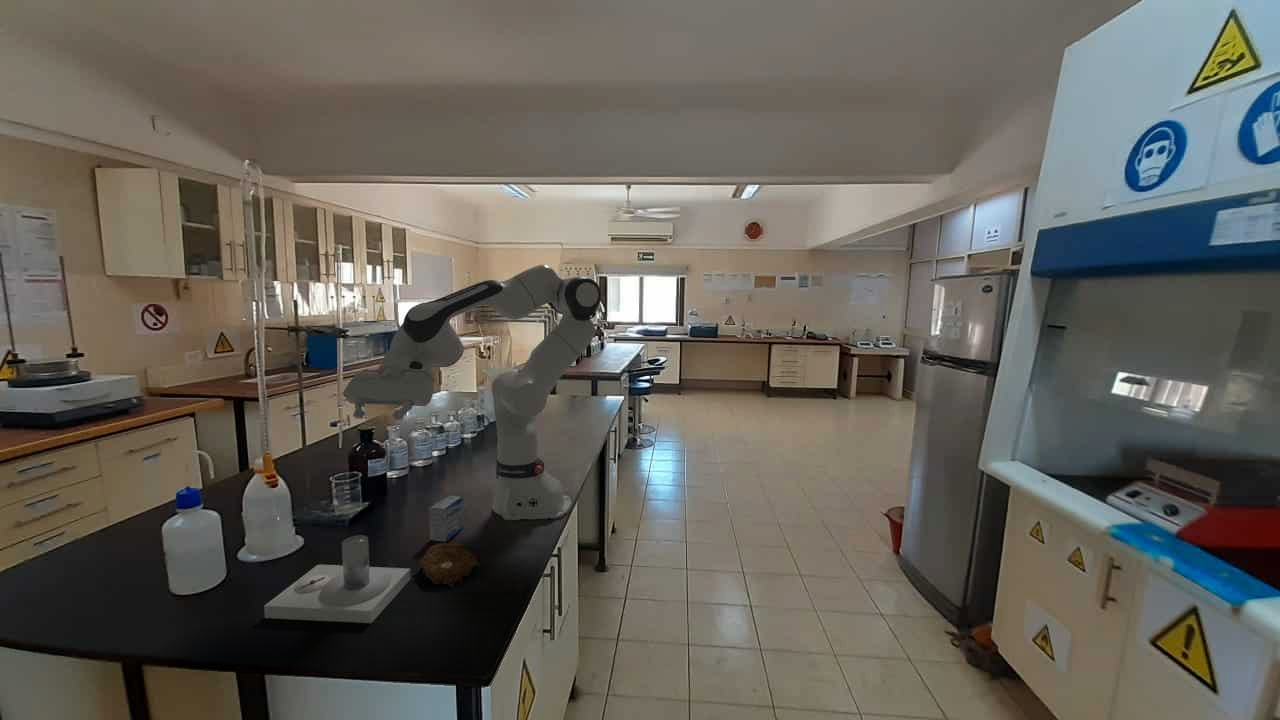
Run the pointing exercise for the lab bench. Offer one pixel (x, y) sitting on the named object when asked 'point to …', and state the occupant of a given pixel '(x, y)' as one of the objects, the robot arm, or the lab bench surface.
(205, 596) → the lab bench surface
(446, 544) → the decorative rock
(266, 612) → the white shallow tray
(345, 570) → the cylinder
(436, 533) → the medicine box
